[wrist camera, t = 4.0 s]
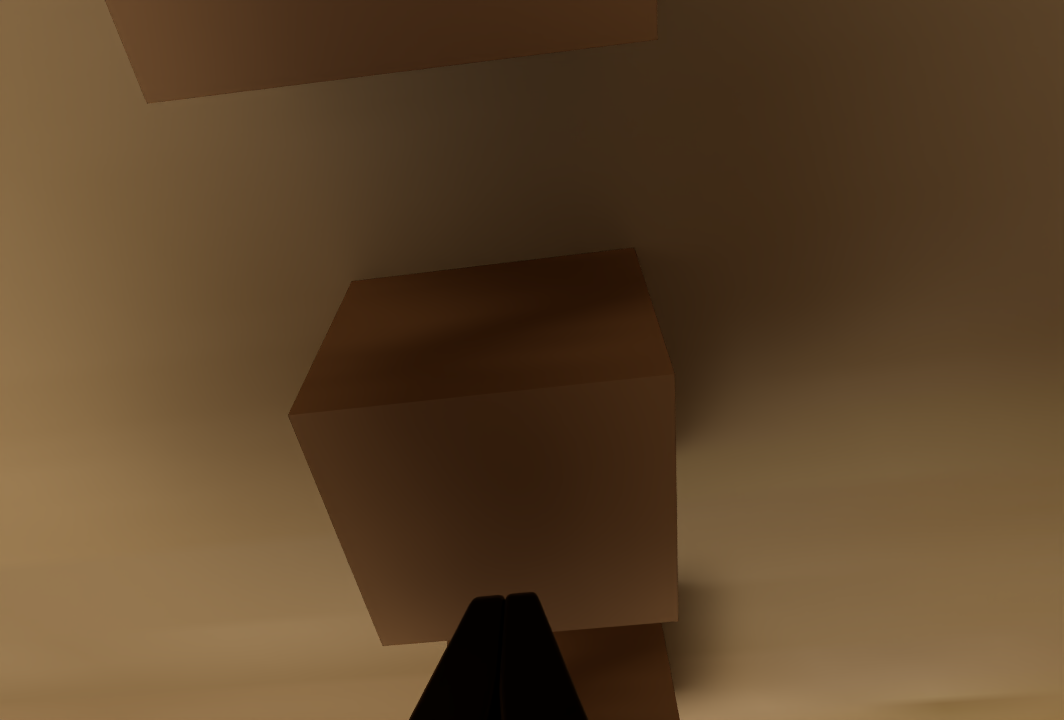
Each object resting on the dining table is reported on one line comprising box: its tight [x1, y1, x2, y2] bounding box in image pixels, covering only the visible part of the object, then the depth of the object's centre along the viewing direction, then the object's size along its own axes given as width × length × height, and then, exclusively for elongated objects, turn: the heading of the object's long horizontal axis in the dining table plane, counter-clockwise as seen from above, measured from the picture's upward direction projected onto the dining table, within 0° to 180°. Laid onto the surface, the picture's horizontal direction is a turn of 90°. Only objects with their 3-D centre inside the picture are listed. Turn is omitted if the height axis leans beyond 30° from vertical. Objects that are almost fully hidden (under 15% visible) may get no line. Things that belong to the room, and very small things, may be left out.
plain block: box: [288, 248, 678, 646], centre depth 12 cm, size 5×5×4 cm
